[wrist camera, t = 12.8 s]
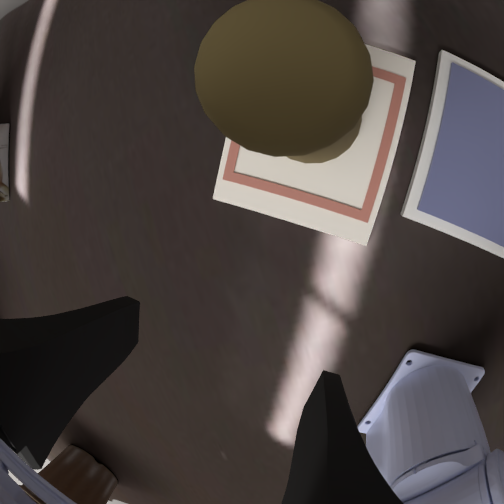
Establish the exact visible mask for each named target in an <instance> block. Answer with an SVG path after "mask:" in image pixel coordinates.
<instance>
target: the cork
mask: <svg viewBox="0 0 504 504" xmlns="http://www.w3.org/2000/svg"><path fill="white" fill-rule="evenodd" d="M194 71H195V89H196V93H197V95H198V98H199V100H200V103H201V105H202V108H203V110H204V112H205V114H206V115H207V116H208V117H209V118H210V120H211V121H212V122H213V123H214V124H215V125H216V126H217V128H218V129H219V130H220V131H221V132H222V133H223V135H224V136H225V137H227V138H229V139H230V140H232V141H234V142H235V143H237V144H239V145H240V146H242V147H243V148H245V149H247V150H249V151H253V152H257V153H261V154H265V155H269V156H273V157H283V156H286V157H288V158H289V159H291V160H295V161H299V162H302V163H324V162H326V161H329V160H332V159H335V158H337V157H339V156H340V155H341V154H343V153H344V152H345V151H347V150H348V149H349V148H350V147H351V145H352V144H353V142H354V141H355V139H356V138H357V136H358V134H359V130H360V126H361V122H362V114H363V113H364V111H365V110H366V108H367V107H368V104H369V99H370V95H371V91H372V86H373V82H374V78H373V70H372V63H371V56H370V53H369V51H368V49H367V47H366V45H365V44H364V42H363V40H362V38H361V36H360V34H359V33H358V31H357V29H356V27H355V26H354V25H353V24H352V23H351V22H350V21H349V20H348V19H347V18H345V17H344V16H343V15H342V14H341V13H340V12H339V11H338V10H336V9H335V8H333V7H331V6H329V5H327V4H325V3H323V2H320V1H318V0H247V1H245V2H242V3H240V4H238V5H236V6H234V7H232V8H231V9H230V10H228V11H227V12H226V13H225V14H224V15H222V16H221V17H220V18H219V19H218V20H216V21H215V22H214V24H213V25H212V27H211V28H210V30H209V31H208V33H207V34H206V36H205V37H204V39H203V40H202V42H201V45H200V48H199V52H198V55H197V59H196V62H195V66H194Z"/></svg>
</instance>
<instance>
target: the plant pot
mask: <svg viewBox="0 0 504 504" xmlns="http://www.w3.org/2000/svg"><path fill="white" fill-rule="evenodd" d="M38 474H39V475H40V476H41V477H42V478H44V479H45V480H46V481H47V482H48V483H50V484H51V485H52V486H53V487H55V488H56V489H57V490H59V491H60V492H61V493H63V494H64V495H65V496H67V497H68V498H69V499H71V500H72V501H74V502H75V503H77V504H106V503H107V502H108V500H109V498H110V496H111V494H112V493H113V491H114V489H115V487H116V486H117V484H118V481H117V479H116V477H115V476H114V475H113V473H112V472H111V471H109V470H108V469H107V468H106V467H105V466H104V465H103V464H99V463H97V462H96V461H95V459H94V457H93V456H91V455H90V454H88V453H87V452H85V451H84V450H82V449H81V448H79V447H76V446H73V445H69V446H68V447H67V448H66V449H65V450H64V451H62V452H61V453H60V454H59V455H58V456H57V457H56V458H55V459H54V460H53V461H51V462H50V463H49V464H48V465H47V466H46V467H45V468H44V469H43V470H41V471H40V472H39V473H38ZM19 486H20V487H21V488H22V489H23V490H24V492H25V493H26V494H27V495H28V496H29V497H30V498H31V499H32V500H33V501H34V502H35V503H36V504H46V503H45V502H44V501H43V500H41V499H40V498H39V497H38V496H37V495H35V494H34V493H33V492H32V491H31V490H30V489H29V488H27V487H26V486H25V485H24V484H23V485H19Z"/></svg>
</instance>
